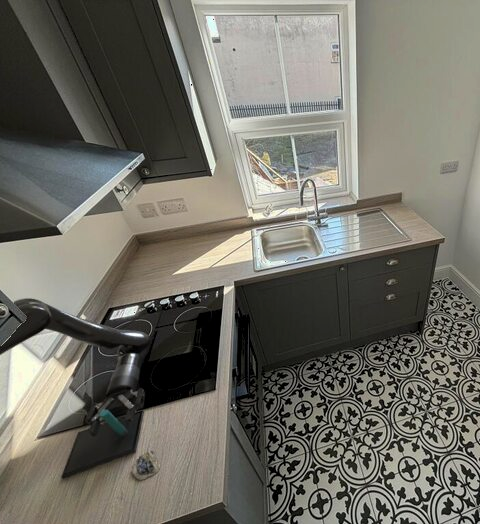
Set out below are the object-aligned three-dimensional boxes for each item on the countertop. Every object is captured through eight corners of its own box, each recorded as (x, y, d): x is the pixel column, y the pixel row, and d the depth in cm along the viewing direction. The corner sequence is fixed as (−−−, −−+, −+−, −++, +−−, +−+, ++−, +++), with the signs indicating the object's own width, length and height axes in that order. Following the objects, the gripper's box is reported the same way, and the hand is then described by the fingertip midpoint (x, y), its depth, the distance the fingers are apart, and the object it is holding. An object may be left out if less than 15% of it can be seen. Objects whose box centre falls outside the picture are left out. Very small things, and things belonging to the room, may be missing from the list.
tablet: (63, 479, 81) (60, 477, 80) (79, 433, 91) (77, 432, 90) (136, 451, 86) (134, 450, 85) (144, 411, 96) (142, 409, 95)
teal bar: (119, 437, 88) (98, 417, 82) (122, 431, 90) (101, 410, 83) (127, 435, 89) (106, 415, 82) (129, 429, 90) (109, 408, 84)
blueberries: (147, 448, 86) (144, 445, 85) (168, 457, 84) (165, 454, 83) (126, 474, 81) (123, 471, 80) (148, 484, 79) (145, 481, 78)
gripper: (92, 382, 92) (73, 432, 80) (143, 367, 96) (132, 412, 83) (105, 396, 96) (88, 445, 84) (153, 381, 100) (144, 425, 88)
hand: (110, 428), depth 84 cm, fingers open, 8 cm apart
